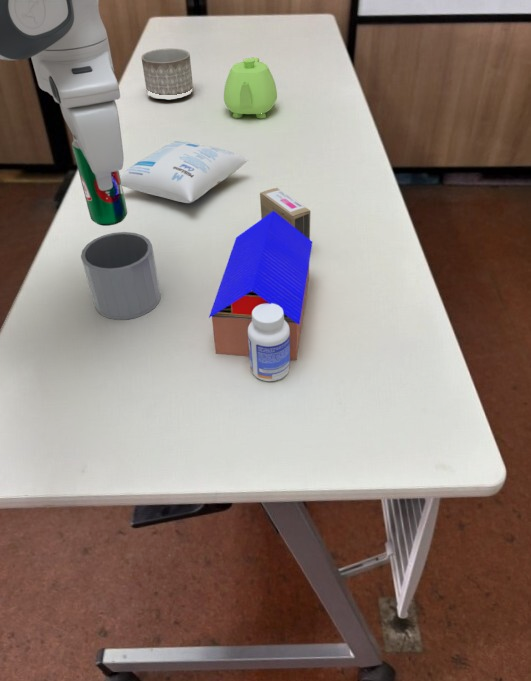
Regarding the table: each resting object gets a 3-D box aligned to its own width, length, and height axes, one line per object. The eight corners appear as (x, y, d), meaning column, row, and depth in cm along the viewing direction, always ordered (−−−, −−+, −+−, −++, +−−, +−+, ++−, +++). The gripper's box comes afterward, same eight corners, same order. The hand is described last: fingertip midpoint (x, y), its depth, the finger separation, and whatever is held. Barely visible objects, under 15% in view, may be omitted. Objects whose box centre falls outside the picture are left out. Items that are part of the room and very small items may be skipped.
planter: (198, 88, 161) (194, 48, 154) (187, 104, 152) (183, 63, 145) (154, 87, 163) (149, 48, 156) (141, 103, 153) (135, 62, 147)
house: (212, 354, 80) (205, 287, 72) (238, 272, 94) (234, 208, 87) (298, 361, 78) (300, 293, 70) (311, 276, 93) (313, 212, 85)
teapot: (271, 127, 139) (271, 73, 131) (217, 126, 141) (213, 72, 132) (281, 98, 154) (281, 48, 145) (232, 97, 155) (229, 47, 147)
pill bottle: (298, 368, 77) (299, 312, 71) (269, 388, 75) (268, 332, 68) (270, 349, 80) (268, 293, 74) (241, 368, 78) (237, 312, 71)
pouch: (173, 125, 122) (108, 157, 109) (249, 145, 114) (189, 182, 101) (176, 160, 127) (114, 195, 114) (249, 182, 120) (192, 222, 107)
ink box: (310, 254, 98) (312, 210, 92) (292, 261, 96) (292, 217, 91) (278, 228, 104) (277, 185, 99) (260, 234, 103) (259, 191, 97)
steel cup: (103, 327, 85) (89, 277, 79) (88, 290, 92) (74, 242, 86) (169, 308, 88) (160, 259, 82) (150, 273, 95) (141, 226, 89)
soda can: (94, 210, 82) (73, 127, 74) (129, 208, 82) (112, 124, 74) (88, 228, 78) (66, 143, 70) (126, 226, 78) (108, 140, 70)
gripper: (33, 48, 73) (61, 152, 82) (62, 98, 59) (92, 217, 68) (83, 41, 74) (105, 144, 84) (122, 88, 61) (143, 205, 70)
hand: (99, 177), depth 76 cm, fingers closed on soda can, 5 cm apart
